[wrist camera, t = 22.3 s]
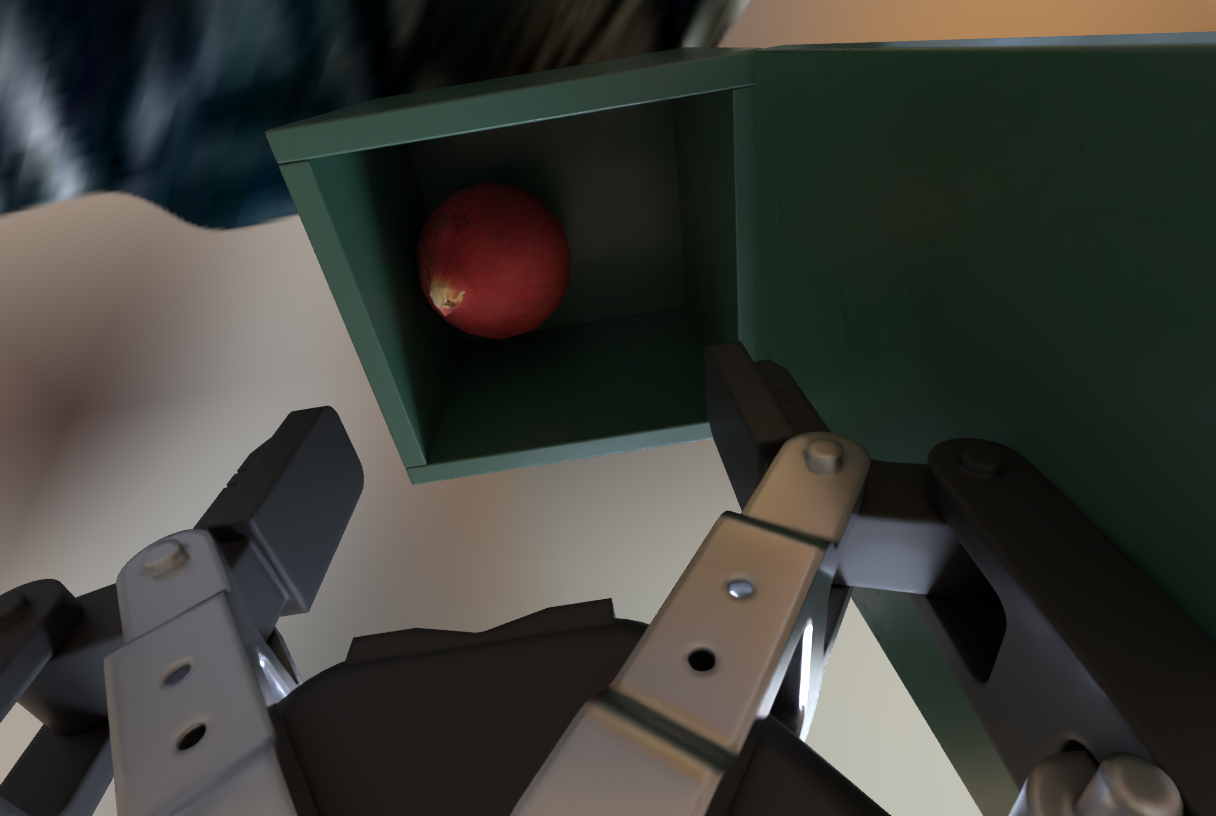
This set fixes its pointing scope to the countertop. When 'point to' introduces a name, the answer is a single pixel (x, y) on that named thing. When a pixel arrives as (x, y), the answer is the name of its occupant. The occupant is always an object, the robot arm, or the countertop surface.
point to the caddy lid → (1003, 289)
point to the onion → (493, 260)
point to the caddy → (596, 235)
